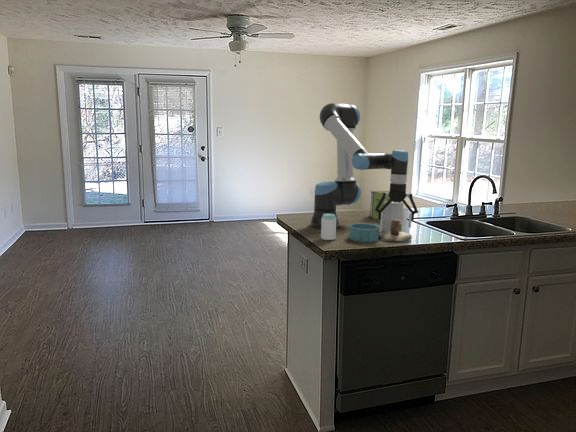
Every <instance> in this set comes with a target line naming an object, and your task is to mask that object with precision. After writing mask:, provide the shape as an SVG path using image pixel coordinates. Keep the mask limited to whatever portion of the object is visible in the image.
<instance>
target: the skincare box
mask: <svg viewBox="0 0 576 432" xmlns="http://www.w3.org/2000/svg"><path fill="white" fill-rule="evenodd" d="M386 202H387V201H384V204H385V203H386ZM403 215H404V203H403V202H400V203H399V202H393V201H392V202H391V203H390V204H389V205H388V206H387V207H386V208H385V209H384V210H383V219H382V226H381V229H382V230H381V232H382V231H391V220H400V228H399V232H403V231H402V229H403Z"/></svg>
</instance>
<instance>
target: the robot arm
mask: <svg viewBox="0 0 576 432" xmlns="http://www.w3.org/2000/svg"><path fill="white" fill-rule="evenodd" d="M319 121H320V124H321V125H322V127H323V128H324V129H325V131H327V132H330V134H331V135H332V136H333V137H334V138H335V140H336V154H337V155H336V158H337V159H336V160H337V161H336V162H337V163H336V166H337V169H336V171H337V173H336V174H337V178H336V179H334V181H322V182H319V183H317V184H315V186H314V187H315V188H314V191H313V192H314V206H313V214H312V217H311V219H310V226H311V227H313V228H316V229H321V218H322V216H323V214H335V217H336V229H337V228H339V225H340V223H339V218H338V215H337V206H338V207H339V206H350V205H353V204H354V205H355V204H356V203H357V202H358V201H359V199H361V194H362V190H361V186H360V185H359V184H358V183H357V179H356V178H355V177H354V169H356V170H361V171H365V170H366V171H367V170H381V169H382V170H384V169H385V170H390V180H389V181H390V183H389V191H390V192H389V193H385V192H383V195H382V198H381V200H380V201H379V203H378V205H377V206H376V208H375V211H377V212H378V213H379V214H378V218H379V219H378V220H379V221H380V222H379V225H380V226H379V227H382V225H383V212H382V211H383V210H384V209H385V208H386V207H387V206H388V205H389V204H390V203H391V202H392V201H393V202H399V203H400V202H403V205H404V206H405V207H406V208H407V209H408V211H409V212H410V213H409V215H408V228H409V229H410V228H412V222H413V221H414V219H415V218H414V217H415V214H418V213H419V210H418V208H417V205H416V203H415V201H414V199H413V194H412V193H411V192H409V193H407V184H406V183H407V178H408V177H407V176H408V165H409V152H408V151H407V150H405V149H404V150H403V149H402V150H401V149H393V150H392V152H391V153H387V152H376V153H373V152H372V153H370V152H368V151H367V149H366V148H365V147H364V146H363V145H362V144H361V142H360V141H359V140H358V139H357V138H356V137H355V136H354V131H355V130H356V129H357V128H356V127H357V126H358V125H359V122H360V121H361V113H360V110H359V109H358V107H357V106H356V105H355V104H349V103H335V102H334V103H333V102H331V103H328V104H325V105H324V106H323V107H322V109H320V111H319ZM387 196H389V197H390V199H389V200H388V201H387V202H386V203H385V204H384V205H383V206H382V207H381V208H380V206H381V204H382V202H383V201H384V199H385V197H387ZM406 198H408V199H409V201H410V204H411V206H412V208H413V209H412V208H411V206H410V205H409V204H408V203H407V201H406ZM379 208H380V209H379Z"/></svg>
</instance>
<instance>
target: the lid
mask: <svg viewBox="0 0 576 432" xmlns="http://www.w3.org/2000/svg"><path fill="white" fill-rule="evenodd" d="M399 228H400V220H391V231H382V230H381V231H379V239H380V238H382V239H385V240H392V241H391V242H395V241H407V240H412V237H413V236H412V234H411V233H407V232H406V231H405V232H404V231H401V232H399Z"/></svg>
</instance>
